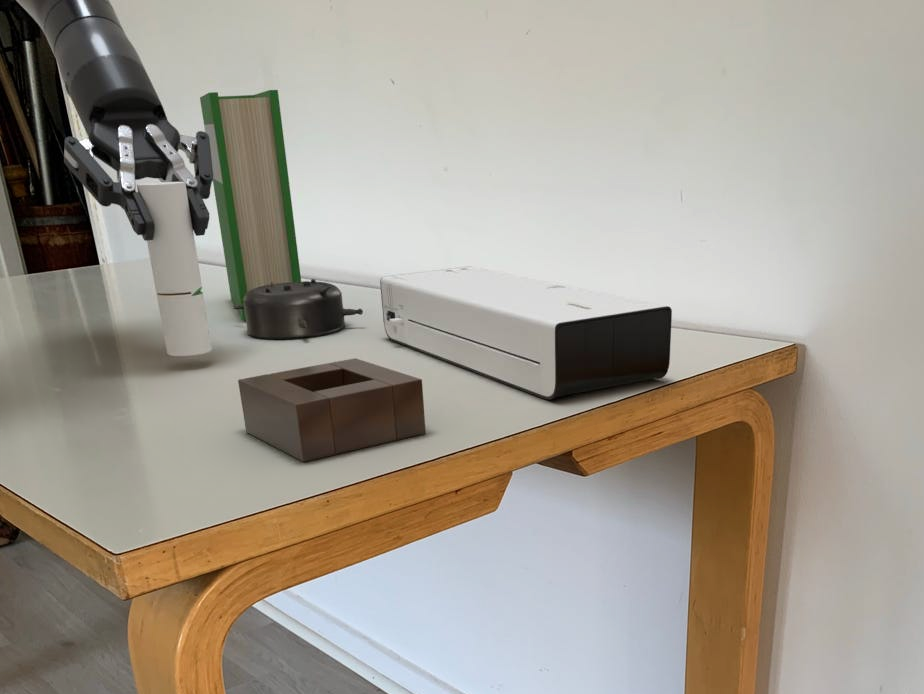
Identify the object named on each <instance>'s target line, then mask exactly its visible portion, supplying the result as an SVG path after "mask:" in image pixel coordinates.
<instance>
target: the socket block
mask: <svg viewBox="0 0 924 694" xmlns="http://www.w3.org/2000/svg"><path fill="white" fill-rule="evenodd" d="M237 384H238V390H239V395H240V401H241V409H242V413H243V414H242V415H243V420H244V427H245V432H246V433H247V434H248V435H251V436H253V437H255V438H256V439H258V440H261V441H263V442H264V443H266V444H267V445H270V446H272V447H275V448H276V449H278V450H279V451H281V452H284V453H286V454H287V455H289V456H291V457H293V458H295V459H296V460H299V461H301V462H303V463H306V462H310V461H315V460H318V459H323V458H326V457H330V456H335V455H340V454H343V453H349V452H352V451H356V450H360V449H365V448H370V447H373V446H377V445H382V444H386V443H391V442H395V441H398V440H399V441H400V440H403V439H408V438H412V437H415V436H420V435H424V434H427V433H426V431H427V429H426V418H425V403H424V389H423V380H422V378H418V377H415V376H412V375H409V374H406V373H404V372H401V371H397V370H394V369H391V368H388V367H384V366H381V365H379V364H374V363H372V362H369V361H365V360H362V359H359V358H349V359H343V360H338V361H333V362H329V363H328V362H327V363H321V364H316V365H309V366H305V367H300V368H294V369H289V370H283V371H278V372H273V373H269V374H268V373H267V374H262V375H256V376H251V377H246V378H239V379H237Z"/></svg>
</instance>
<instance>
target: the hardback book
mask: <svg viewBox="0 0 924 694" xmlns="http://www.w3.org/2000/svg"><path fill="white" fill-rule="evenodd" d="M199 100H200V107H201V114H202V120H203V126H204V127H203V128H204V132H205V133H207V134H208V135H209V140H210V150H211V159H212V168H213V181H212V183H213V184H212V185H213V192H214V198H215V204H216V210H217V216H218V222H219V228H220V229H219V230H220V236H221V237H220V238H221V241H222V248H223V249H222V250H223V255H224V262H225V268H226V274H227V281H228V288H229V294H230V300H231V302H232V304H233V306H241V305H244V303H243V299H244V296H245V295H246V294H247V292H249V291H250V290H252V289H254V288H257V287H261V286H265V285H271V282H273V284H277V283H287V282H302V276H301V268H300V259H299V250H298V244H297V235H296V228H295V226H296V225H295V219H294V211H293V203H292V194H291V185H290V179H289V170H288V161H287V154H286V146H285V138H284V137H285V136H284V130H283V122H282V113H281V105H280V97H279V90H278V89H268V90H265V91H262V92H259V93H256V94H248V95H245V94H244V95H223V96H222V95H220V96H219V92H217V91H216V92H207V93H205V94H204V95H201V96H200V97H199ZM236 310H237V313H238V315H239V316H240V318H241V319H242V321H243V323H244V322H245V323H246V317H245V310H244V309H236Z"/></svg>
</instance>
